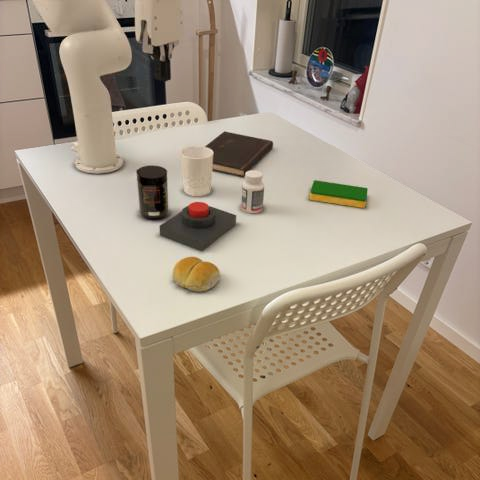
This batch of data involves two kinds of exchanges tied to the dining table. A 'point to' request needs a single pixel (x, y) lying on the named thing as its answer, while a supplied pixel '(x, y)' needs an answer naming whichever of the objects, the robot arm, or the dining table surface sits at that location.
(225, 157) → the hardcover book
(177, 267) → the bread roll
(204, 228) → the control box
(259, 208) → the pill bottle
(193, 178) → the white cup
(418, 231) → the dining table surface
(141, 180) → the supplement container
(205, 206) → the button
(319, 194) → the dish sponge
